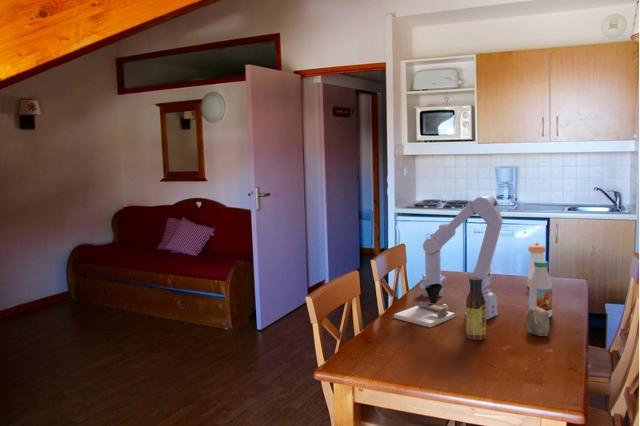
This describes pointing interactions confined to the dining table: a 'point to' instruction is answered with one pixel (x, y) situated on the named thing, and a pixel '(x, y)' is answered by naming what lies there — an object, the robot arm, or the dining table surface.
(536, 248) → the orange-capped bottle
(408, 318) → the board
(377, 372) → the dining table surface
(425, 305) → the steel link
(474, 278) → the sauce bottle
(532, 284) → the milk bottle
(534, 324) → the grey rock
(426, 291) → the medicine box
